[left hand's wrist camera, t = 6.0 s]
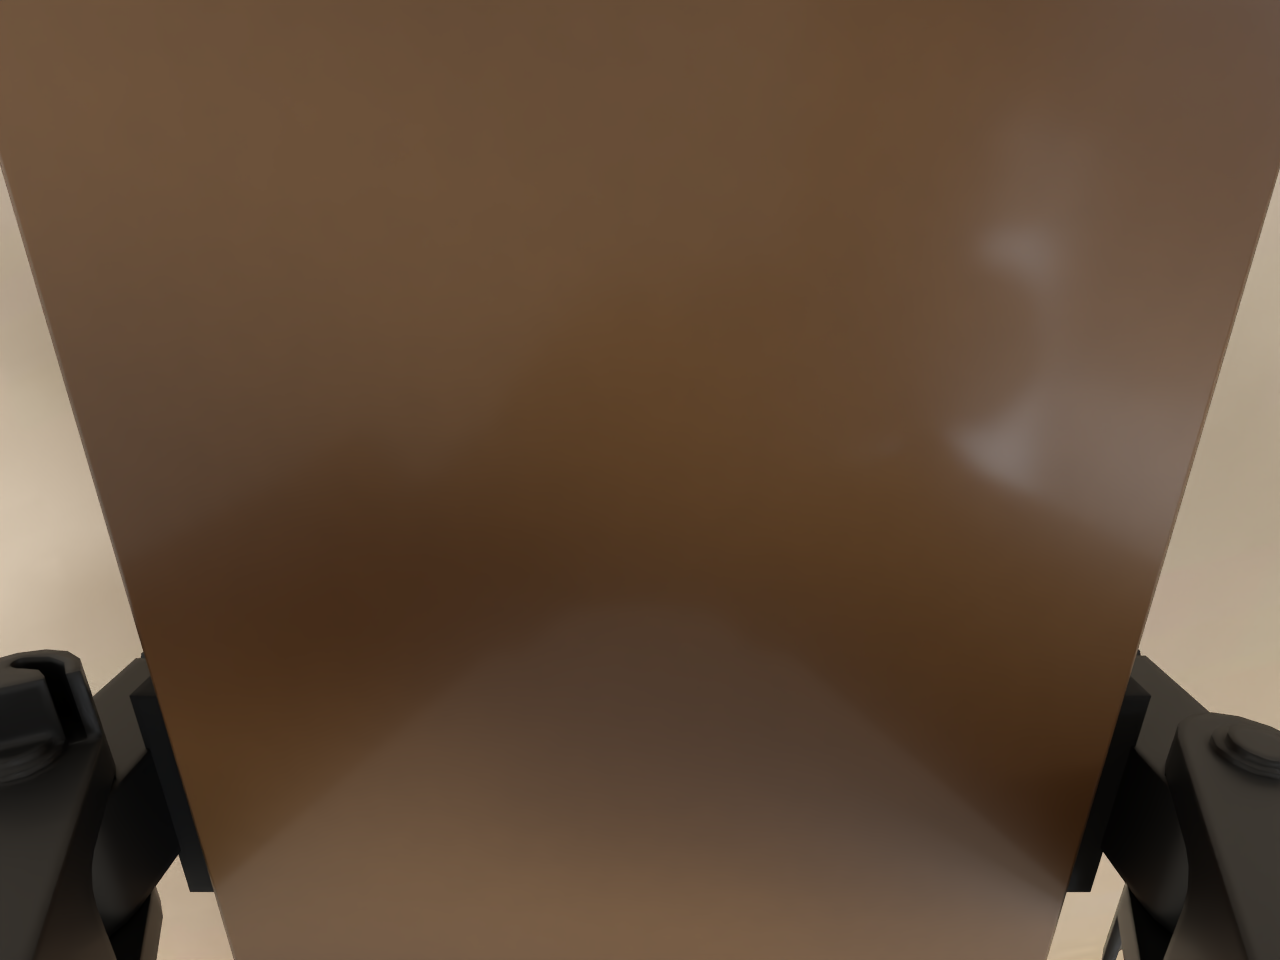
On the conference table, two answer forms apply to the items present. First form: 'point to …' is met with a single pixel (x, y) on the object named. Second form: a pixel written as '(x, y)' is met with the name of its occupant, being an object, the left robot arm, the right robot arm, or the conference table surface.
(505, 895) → the slab
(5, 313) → the conference table surface
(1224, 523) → the conference table surface
